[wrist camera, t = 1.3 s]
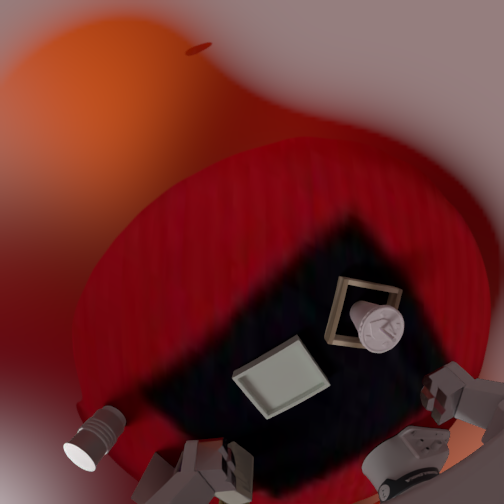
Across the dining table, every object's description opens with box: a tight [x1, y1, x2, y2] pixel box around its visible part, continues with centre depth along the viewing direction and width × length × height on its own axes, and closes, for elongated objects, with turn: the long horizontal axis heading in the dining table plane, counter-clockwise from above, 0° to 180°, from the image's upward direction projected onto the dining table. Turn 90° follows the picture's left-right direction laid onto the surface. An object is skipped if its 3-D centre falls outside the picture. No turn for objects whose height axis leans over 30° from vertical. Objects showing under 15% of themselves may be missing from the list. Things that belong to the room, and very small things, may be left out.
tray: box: [232, 335, 330, 419], centre depth 41 cm, size 12×10×2 cm
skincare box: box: [214, 442, 254, 504], centre depth 38 cm, size 6×4×12 cm
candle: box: [64, 406, 126, 471], centre depth 38 cm, size 7×7×15 cm
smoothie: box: [350, 301, 404, 353], centre depth 35 cm, size 6×6×14 cm
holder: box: [324, 276, 402, 349], centre depth 40 cm, size 10×10×3 cm
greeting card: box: [131, 451, 184, 504], centre depth 38 cm, size 11×7×15 cm, turn 2°
